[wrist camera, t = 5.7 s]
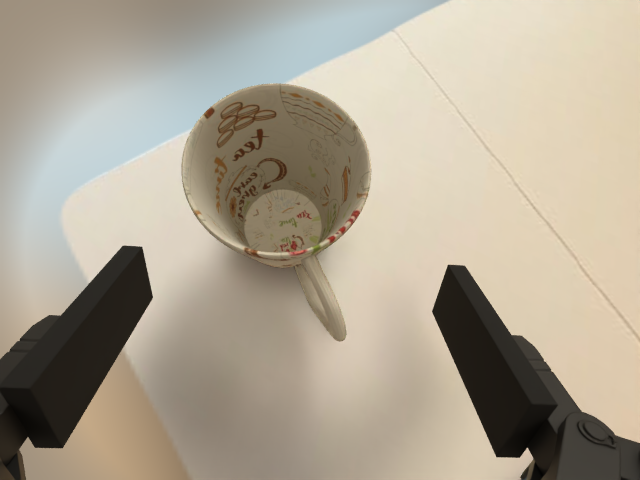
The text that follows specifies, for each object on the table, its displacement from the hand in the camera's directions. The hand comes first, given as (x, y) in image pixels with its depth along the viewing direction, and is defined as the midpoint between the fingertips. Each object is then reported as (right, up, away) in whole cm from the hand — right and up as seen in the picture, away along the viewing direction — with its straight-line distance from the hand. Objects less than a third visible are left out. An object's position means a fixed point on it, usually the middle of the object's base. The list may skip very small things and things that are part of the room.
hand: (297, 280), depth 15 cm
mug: (-1, +1, +9) cm, 9 cm away
